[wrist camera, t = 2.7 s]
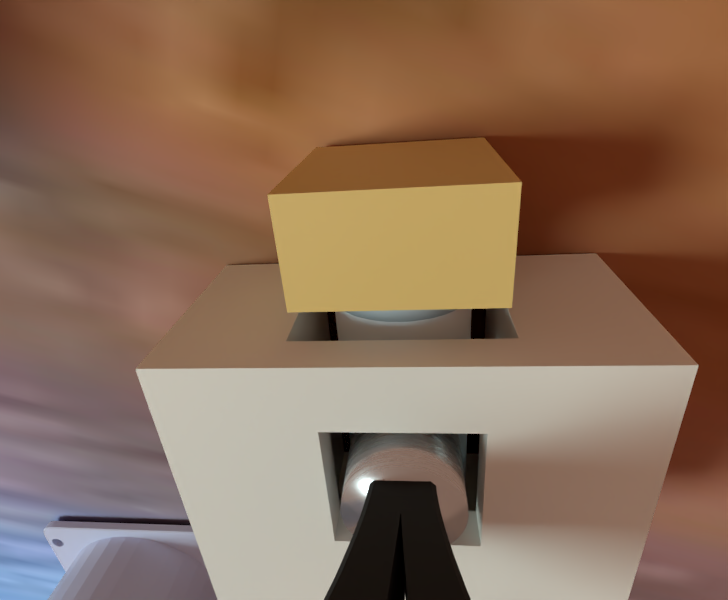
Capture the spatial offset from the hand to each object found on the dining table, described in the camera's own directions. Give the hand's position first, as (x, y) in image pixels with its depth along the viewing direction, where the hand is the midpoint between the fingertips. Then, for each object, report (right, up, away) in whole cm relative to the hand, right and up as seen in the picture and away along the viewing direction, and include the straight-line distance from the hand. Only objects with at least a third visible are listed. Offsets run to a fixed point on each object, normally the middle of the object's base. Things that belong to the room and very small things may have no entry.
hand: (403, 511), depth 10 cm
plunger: (0, +1, +2) cm, 2 cm away
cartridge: (0, +4, +4) cm, 6 cm away
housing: (+1, +2, +6) cm, 6 cm away
